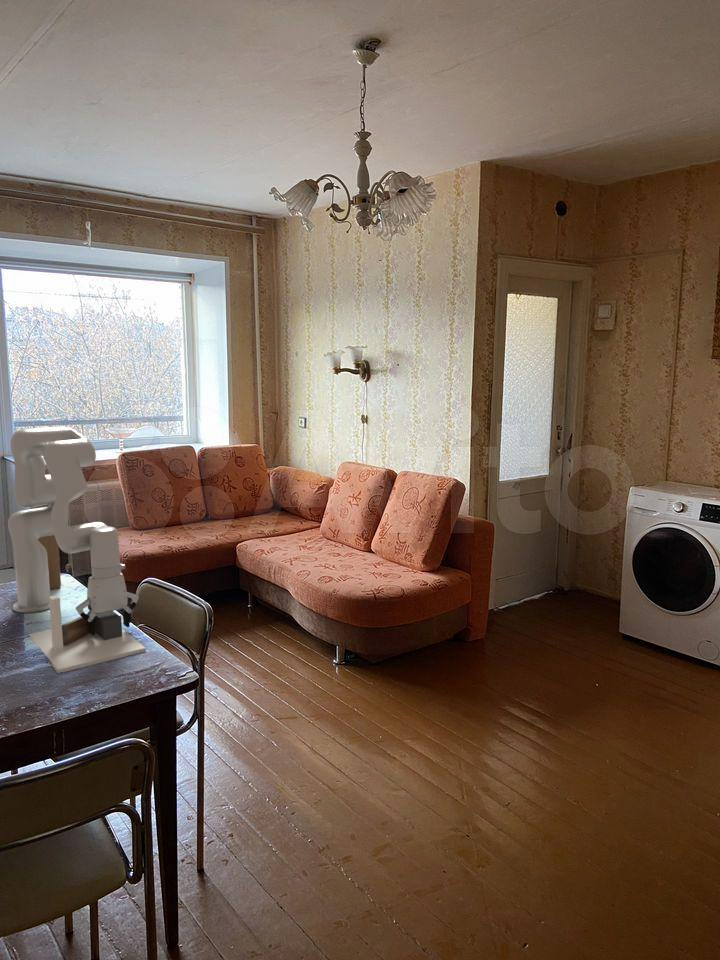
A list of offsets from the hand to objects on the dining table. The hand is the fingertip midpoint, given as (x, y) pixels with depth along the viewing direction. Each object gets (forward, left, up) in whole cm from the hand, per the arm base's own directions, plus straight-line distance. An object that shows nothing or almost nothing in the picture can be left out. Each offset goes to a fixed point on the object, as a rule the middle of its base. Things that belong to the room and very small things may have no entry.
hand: (109, 629), depth 198 cm
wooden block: (-62, -2, -3) cm, 62 cm away
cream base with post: (0, -7, -3) cm, 7 cm away
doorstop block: (-1, 0, -2) cm, 2 cm away
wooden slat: (-4, -6, -1) cm, 7 cm away
